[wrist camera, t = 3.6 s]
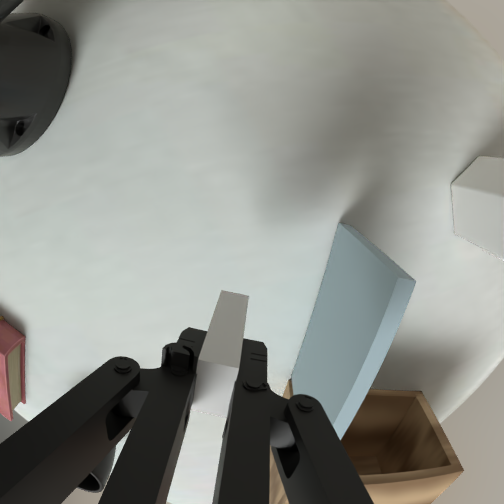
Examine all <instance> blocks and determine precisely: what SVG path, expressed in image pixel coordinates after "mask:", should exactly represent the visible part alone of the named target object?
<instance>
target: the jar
mask: <svg viewBox="0 0 504 504" xmlns="http://www.w3.org/2000/svg"><path fill="white" fill-rule="evenodd" d="M451 192H452V204H453V220H454V234H455V235H457V236H459V237H461V238H463V239H465V240H467V241H469V242H471V243H473V244H475V245H477V246H478V247H480V248H482V250H483V251H485V252H487V253H489V254H490V255H492V256H494V257H496V258H498V259H500V260H502V261H503V262H504V158H500V157H487V156H479V157H477V159H476V160H475V161H474V162H473V163H472V164H471V165H470V166H469V167H468V168H467V169H466V170H465V171H464V172H463V173H462V174H461V175H460V176H459V177H458V178H457V179H456V180H455V181H454V182H453V183H452V184H451Z"/></svg>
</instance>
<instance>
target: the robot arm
mask: <svg viewBox="0 0 504 504" xmlns="http://www.w3.org/2000/svg"><path fill="white" fill-rule="evenodd" d="M23 1H24V0H0V157H3V156H12V155H15V154H18V153H20V152H22V151H24V150H26V149H27V148H28V147H30V146H31V145H32V144H33V143H34V142H35V141H36V140H37V139H38V138H39V137H40V136H41V135H42V134H43V132H44V131H45V130H46V128H47V127H48V126H49V124H50V123H51V121H52V119H53V118H54V116H55V114H56V112H57V110H58V108H59V106H60V104H61V101H62V99H63V96H64V93H65V90H66V87H67V84H68V80H69V75H70V69H71V45H70V40H69V37H68V35H67V33H66V31H65V29H64V28H63V27H62V26H61V25H60V24H59V23H58V22H56V21H54V20H52V19H50V18H48V17H46V16H44V15H41V14H37V13H12V14H10V13H11V12H12V11H13V10H14V9H15V8H16V7H17V6H18V5H19V4H20V3H22V2H23ZM248 298H249V296H247V295H242V294H237V293H233V292H228V291H223V290H221V293H220V296H219V299H218V302H217V305H216V308H215V311H214V314H213V317H212V320H211V323H210V326H209V329H208V331H203V330H198V329H194V328H190V327H188V328H187V329H185V330H184V331H182V333H181V335H180V337H179V339H178V341H177V343H170V344H167V345H165V346H164V348H163V350H162V364H161V367H160V368H156V369H140V366H139V364H138V363H137V362H136V361H135V360H133V359H131V358H128V357H121V356H120V357H114V358H112V359H110V360H108V361H107V362H106V363H104V364H103V365H102V366H101V367H99V368H98V369H97V370H95V371H94V372H93V373H91V374H90V375H89V376H88V377H86V378H85V379H84V380H82V381H81V382H80V383H78V384H77V385H76V386H75V387H73V388H72V389H71V390H69V391H68V392H67V393H66V394H64V395H63V396H62V397H60V398H59V399H58V400H56V401H55V402H54V403H53V404H51V405H50V406H49V407H47V408H46V409H45V410H44V411H42V412H41V413H40V414H38V415H37V416H36V417H34V418H33V419H32V420H31V421H29V422H28V423H27V424H25V425H24V426H23V427H21V428H20V429H19V430H18V431H16V432H15V433H14V434H13V435H11V436H10V437H9V438H7V439H6V440H5V441H3V442H2V443H1V444H0V504H61V503H62V502H63V501H64V500H65V499H66V498H67V497H68V496H69V495H70V494H71V492H73V491H74V489H75V488H76V487H77V486H78V485H79V484H80V483H81V482H82V481H83V480H84V479H85V478H86V477H87V476H88V475H89V474H90V473H91V472H92V470H93V469H94V468H95V467H96V466H97V465H98V464H99V463H100V462H101V461H102V460H103V459H104V458H105V456H106V455H107V454H108V453H109V452H110V451H111V450H112V449H113V448H114V447H115V446H116V445H117V443H118V442H119V441H120V440H121V439H122V438H123V437H124V436H125V435H126V434H127V432H128V431H129V430H130V429H131V428H132V429H131V431H130V433H129V435H128V438H127V440H126V442H125V444H124V446H123V449H122V451H121V453H120V455H119V457H118V460H117V462H116V464H115V466H114V469H113V471H112V473H111V475H110V478H109V480H108V482H107V485H106V487H105V489H104V491H103V494H102V496H101V498H100V501H99V503H98V504H166V500H167V497H168V493H169V489H170V486H171V482H172V478H173V475H174V471H175V467H176V464H177V460H178V457H179V453H180V449H181V446H182V442H183V439H184V435H185V432H186V428H187V424H188V421H189V415H190V410H193V411H197V412H201V413H206V414H210V415H215V416H220V417H225V418H227V420H226V424H225V428H224V432H223V436H222V438H223V441H222V447H221V453H220V459H219V466H218V472H217V478H216V484H215V490H214V497H213V503H212V504H269V495H270V445H271V450H272V453H273V457H274V460H275V463H276V466H277V469H278V472H279V475H280V478H281V481H282V484H283V487H284V490H285V493H286V496H287V499H288V502H289V504H374V502H373V501H372V499H371V497H370V495H369V493H368V491H367V489H366V488H365V486H364V484H363V482H362V480H361V478H360V476H359V475H358V473H357V471H356V469H355V467H354V465H353V463H352V461H351V460H350V458H349V456H348V454H347V452H346V450H345V448H344V446H343V445H342V443H341V441H340V439H339V437H338V435H337V433H336V431H335V429H334V428H333V426H332V424H331V422H330V420H329V418H328V416H327V414H326V412H325V411H324V409H323V407H322V405H321V403H320V402H319V401H318V400H317V399H315V398H314V397H312V396H309V395H305V394H297V395H293V396H292V397H290V399H286V398H284V397H281V396H279V395H277V394H275V393H274V392H273V391H272V390H271V389H270V386H269V384H268V383H267V348H266V346H265V345H264V343H263V342H259V341H254V340H249V339H244V338H243V336H244V328H245V321H246V313H247V306H248Z"/></svg>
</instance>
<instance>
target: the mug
mask: <svg viewBox="0 0 504 504" xmlns="http://www.w3.org/2000/svg"><path fill="white" fill-rule="evenodd" d="M115 449H116V446H115V447H114V448H113V449H112V450H111V451H110V452H109V453H108V454H107V455H106V456H105V458H104V459H103V460H102V461H101V462H100V463H99V464H98V465H97V466H96V467H95V468H94V469H93V470H92V472H91V473H90V474H89V475H88V476H87V477H86V478H85V479H84V480H83V481H82V482H81V483H80V484H79V485H78V486H77V487H76V488H79V489H81V490H84V491H88V492H93V493H97V492H101V491H102V490H103V489H104V486H105V484H106V482H107V479H108V477H109V475H110V472H111V469H112V466H113V461H114V456H115Z"/></svg>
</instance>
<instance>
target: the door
mask: <svg viewBox="0 0 504 504" xmlns="http://www.w3.org/2000/svg"><path fill="white" fill-rule="evenodd" d="M415 283H416V281H415V280H414V279H413V278H412V277H411V276H410V275H409V274H407V273H406V272H405V271H404V270H403V269H402V268H401V267H399V266H398V265H397V264H396V263H395V262H394V261H393V260H391V259H390V258H389V257H388V256H387V255H386V254H384V253H383V252H382V251H381V250H380V249H378V248H377V247H376V246H375V245H374V244H372V243H371V242H370V241H369V240H368V239H366V238H365V237H364V236H363V235H362V234H360V233H359V232H358V231H357V230H355V229H354V228H353V227H352V226H350V225H347V224H342V223H339V224H338V227H337V231H336V235H335V239H334V242H333V246H332V250H331V253H330V257H329V260H328V264H327V267H326V271H325V274H324V278H323V281H322V284H321V288H320V291H319V294H318V298H317V301H316V304H315V307H314V310H313V314H312V317H311V320H310V323H309V326H308V329H307V332H306V335H305V338H304V341H303V344H302V347H301V350H300V353H299V356H298V359H297V362H296V365H295V367H294V370H293V373H292V374H291V379H292V388H293V395H297V394H305V395H309V396H312V397H314V398H315V399H317V400H318V401H319V402H320V403H321V405H322V407H323V409H324V411H325V412H326V414H327V416H328V418H329V420H330V422H331V424H332V426H333V428H334V429H335V431H336V433H337V435H338V437H339V439H340V440H341V439H342V437H343V435H344V434H345V432H346V430H347V429H348V427H349V425H350V423H351V422H352V420H353V418H354V416H355V415H356V413H357V411H358V409H359V408H360V406H361V404H362V402H363V400H364V398H365V396H366V395H367V393H368V391H369V389H370V387H371V385H372V383H373V381H374V379H375V377H376V375H377V373H378V371H379V369H380V367H381V365H382V363H383V361H384V358H385V356H386V354H387V352H388V350H389V348H390V345H391V343H392V341H393V339H394V336H395V334H396V332H397V329H398V327H399V325H400V322H401V320H402V317H403V315H404V312H405V310H406V307H407V305H408V302H409V300H410V297H411V294H412V292H413V289H414V286H415Z"/></svg>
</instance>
